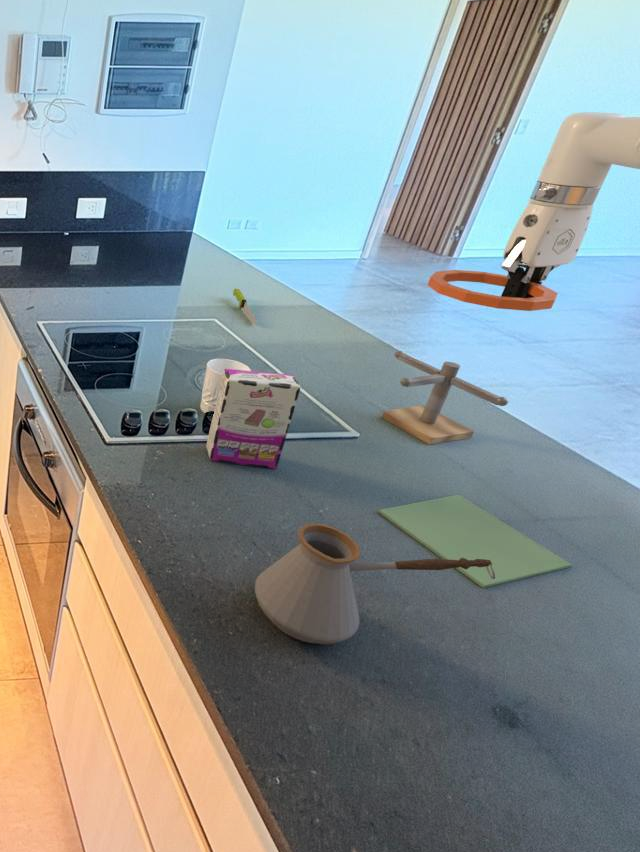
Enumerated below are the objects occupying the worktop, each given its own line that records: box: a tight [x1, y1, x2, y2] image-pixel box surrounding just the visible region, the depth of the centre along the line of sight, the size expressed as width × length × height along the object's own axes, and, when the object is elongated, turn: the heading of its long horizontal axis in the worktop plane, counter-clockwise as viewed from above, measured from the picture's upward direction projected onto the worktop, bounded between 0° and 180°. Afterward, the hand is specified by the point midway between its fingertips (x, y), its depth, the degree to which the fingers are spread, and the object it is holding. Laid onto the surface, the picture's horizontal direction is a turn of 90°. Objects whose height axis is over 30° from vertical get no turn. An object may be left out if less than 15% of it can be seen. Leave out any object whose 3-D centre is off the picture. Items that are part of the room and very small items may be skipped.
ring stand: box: [381, 350, 509, 446], centre depth 116 cm, size 15×21×14 cm
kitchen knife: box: [232, 288, 259, 325], centre depth 173 cm, size 22×1×3 cm, turn 170°
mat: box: [377, 494, 573, 589], centre depth 92 cm, size 16×16×1 cm
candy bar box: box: [205, 369, 302, 469], centre depth 107 cm, size 11×5×16 cm, turn 76°
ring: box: [427, 269, 558, 312], centre depth 105 cm, size 16×16×2 cm
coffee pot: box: [254, 523, 495, 645], centre depth 74 cm, size 21×12×15 cm, turn 69°
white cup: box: [199, 358, 252, 414], centre depth 123 cm, size 8×8×10 cm
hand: (515, 301), depth 107 cm, fingers closed on ring, 1 cm apart
